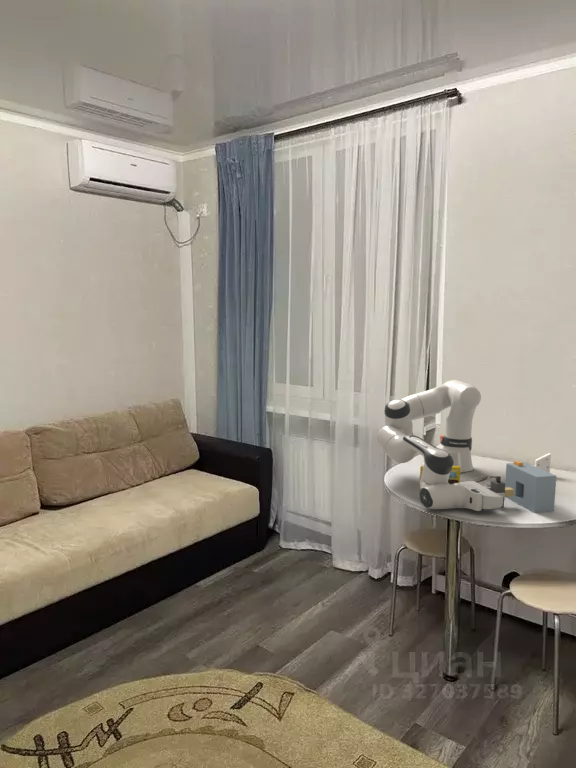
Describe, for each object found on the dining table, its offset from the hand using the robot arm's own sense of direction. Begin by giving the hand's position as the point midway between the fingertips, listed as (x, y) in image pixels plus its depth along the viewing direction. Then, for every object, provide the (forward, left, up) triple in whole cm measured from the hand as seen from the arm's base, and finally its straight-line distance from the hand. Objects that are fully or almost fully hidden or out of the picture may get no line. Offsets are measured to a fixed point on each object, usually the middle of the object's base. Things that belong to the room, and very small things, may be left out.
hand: (499, 492), depth 213 cm
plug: (+1, +1, -5) cm, 5 cm away
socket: (+11, +6, -5) cm, 13 cm away
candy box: (-22, +18, -5) cm, 29 cm away
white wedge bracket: (+19, +48, -5) cm, 52 cm away
